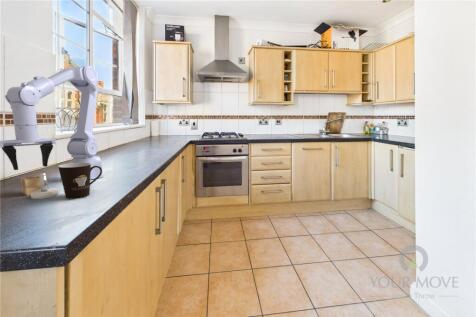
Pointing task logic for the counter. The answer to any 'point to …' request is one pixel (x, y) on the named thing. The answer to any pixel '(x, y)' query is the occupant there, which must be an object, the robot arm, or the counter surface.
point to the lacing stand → (44, 193)
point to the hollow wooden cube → (30, 184)
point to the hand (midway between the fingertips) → (31, 167)
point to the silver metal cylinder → (43, 182)
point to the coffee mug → (77, 179)
